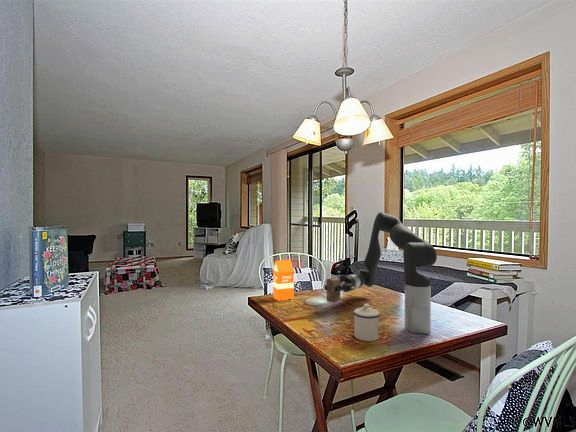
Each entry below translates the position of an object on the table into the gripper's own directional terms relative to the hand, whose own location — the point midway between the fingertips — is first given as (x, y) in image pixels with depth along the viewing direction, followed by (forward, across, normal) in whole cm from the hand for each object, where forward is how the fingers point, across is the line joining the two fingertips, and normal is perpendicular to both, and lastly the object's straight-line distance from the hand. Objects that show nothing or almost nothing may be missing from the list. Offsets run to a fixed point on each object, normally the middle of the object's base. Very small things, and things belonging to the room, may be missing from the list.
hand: (330, 288), depth 142 cm
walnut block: (-3, 0, +6) cm, 7 cm away
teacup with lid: (+15, +25, +11) cm, 31 cm away
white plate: (-7, -13, +10) cm, 18 cm away
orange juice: (-3, -31, +10) cm, 33 cm away
